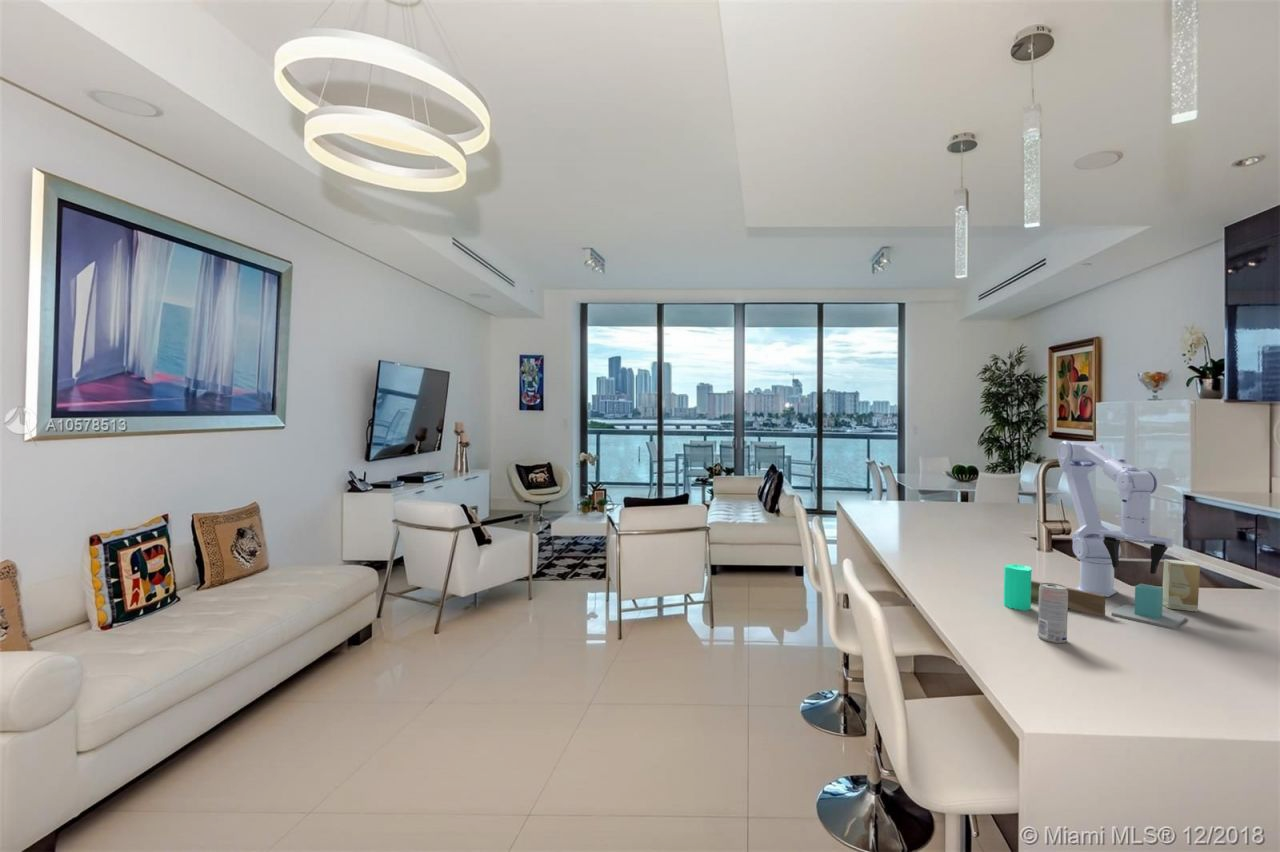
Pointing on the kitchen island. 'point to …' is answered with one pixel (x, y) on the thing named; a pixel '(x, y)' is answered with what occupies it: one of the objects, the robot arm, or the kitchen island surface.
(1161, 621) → the grey mat
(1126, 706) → the kitchen island surface
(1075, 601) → the walnut screen
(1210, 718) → the kitchen island surface
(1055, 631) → the energy drink
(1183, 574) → the skincare box
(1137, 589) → the teal block
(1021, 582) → the candle
